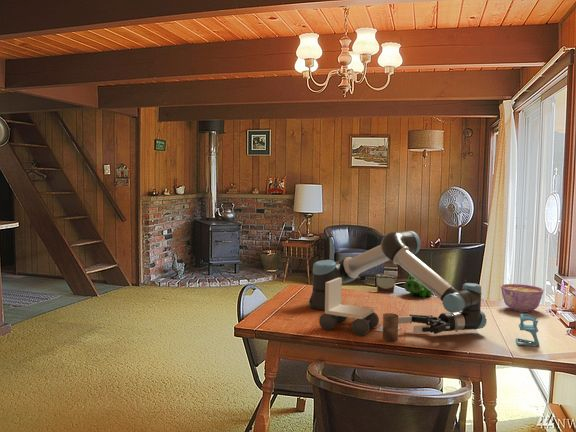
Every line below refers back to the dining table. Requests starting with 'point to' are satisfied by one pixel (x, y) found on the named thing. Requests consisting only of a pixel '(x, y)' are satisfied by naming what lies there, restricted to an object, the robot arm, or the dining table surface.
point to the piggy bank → (416, 287)
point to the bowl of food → (521, 296)
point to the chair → (528, 329)
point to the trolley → (345, 311)
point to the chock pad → (382, 329)
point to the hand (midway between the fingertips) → (405, 324)
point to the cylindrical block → (390, 327)
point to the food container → (385, 283)
